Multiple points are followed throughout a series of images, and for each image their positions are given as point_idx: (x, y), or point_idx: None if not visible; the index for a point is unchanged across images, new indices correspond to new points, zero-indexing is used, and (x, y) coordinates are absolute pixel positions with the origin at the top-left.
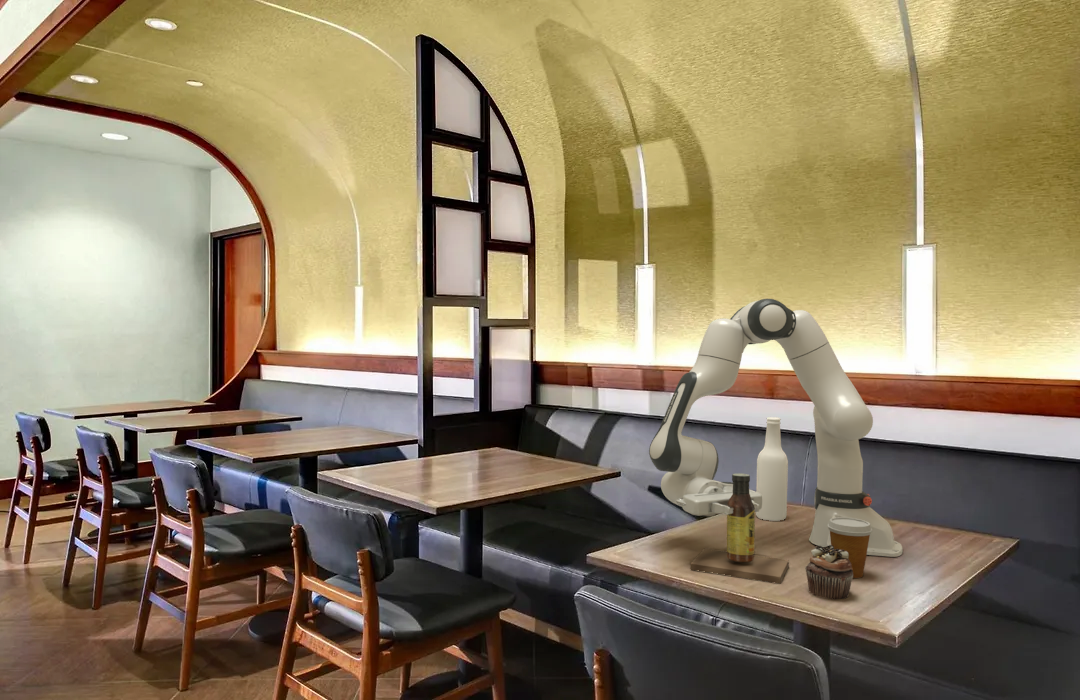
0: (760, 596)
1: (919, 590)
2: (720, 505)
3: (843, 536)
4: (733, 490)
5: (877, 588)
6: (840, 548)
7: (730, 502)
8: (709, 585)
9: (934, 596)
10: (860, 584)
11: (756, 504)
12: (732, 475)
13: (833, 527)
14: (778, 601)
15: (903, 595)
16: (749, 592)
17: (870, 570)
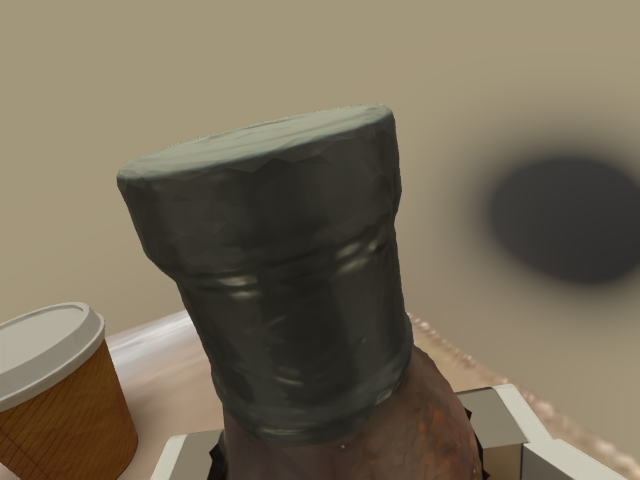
0: (452, 362)
1: (122, 351)
2: (596, 462)
3: (103, 341)
4: (406, 325)
5: (169, 368)
6: (113, 381)
7: (462, 414)
8: (616, 464)
9: (140, 331)
10: (168, 390)
11: (187, 438)
12: (388, 127)
13: (81, 344)
14: (422, 337)
15: (174, 338)
16: (473, 387)
17: (11, 475)
